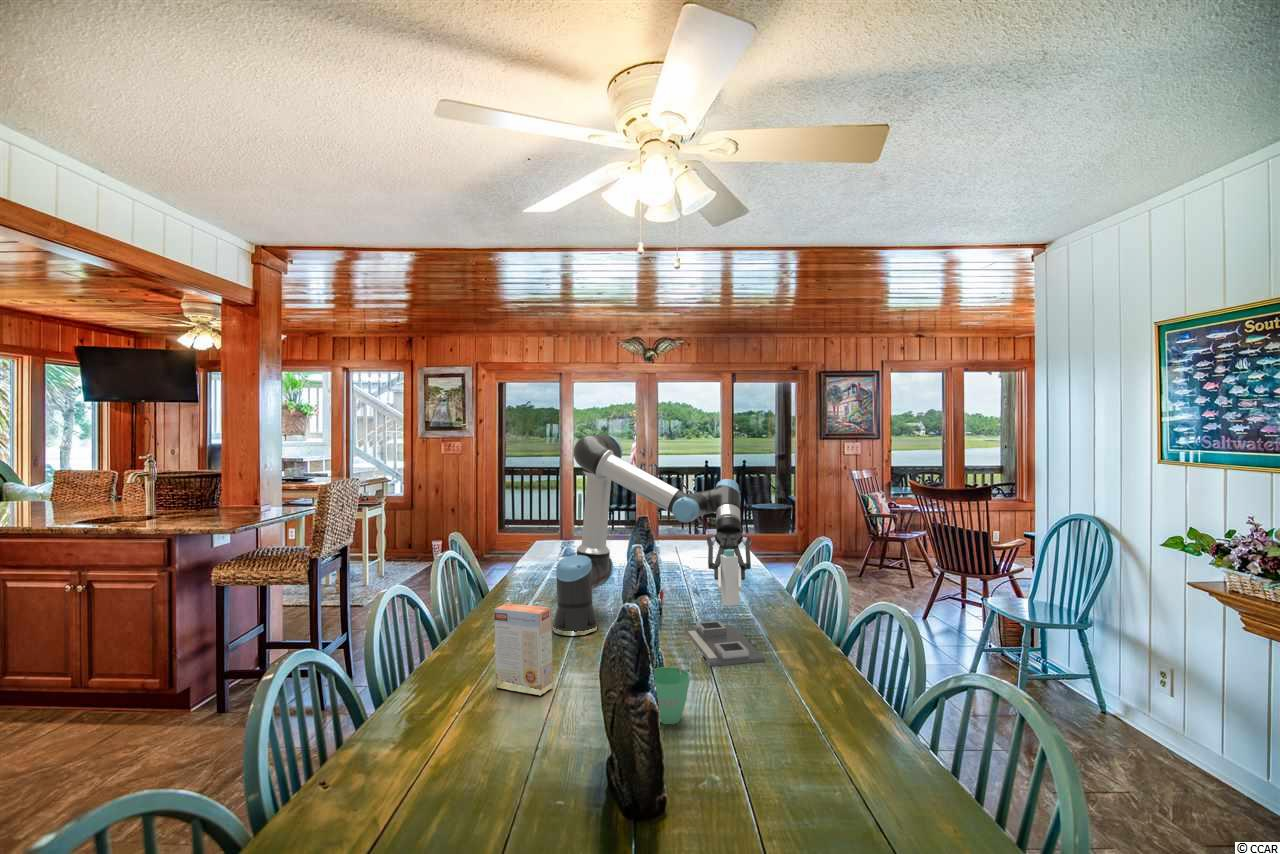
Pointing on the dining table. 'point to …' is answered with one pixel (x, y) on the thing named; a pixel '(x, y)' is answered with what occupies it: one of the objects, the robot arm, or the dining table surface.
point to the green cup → (671, 693)
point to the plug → (729, 578)
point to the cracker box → (523, 645)
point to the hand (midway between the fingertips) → (729, 588)
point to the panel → (722, 644)
